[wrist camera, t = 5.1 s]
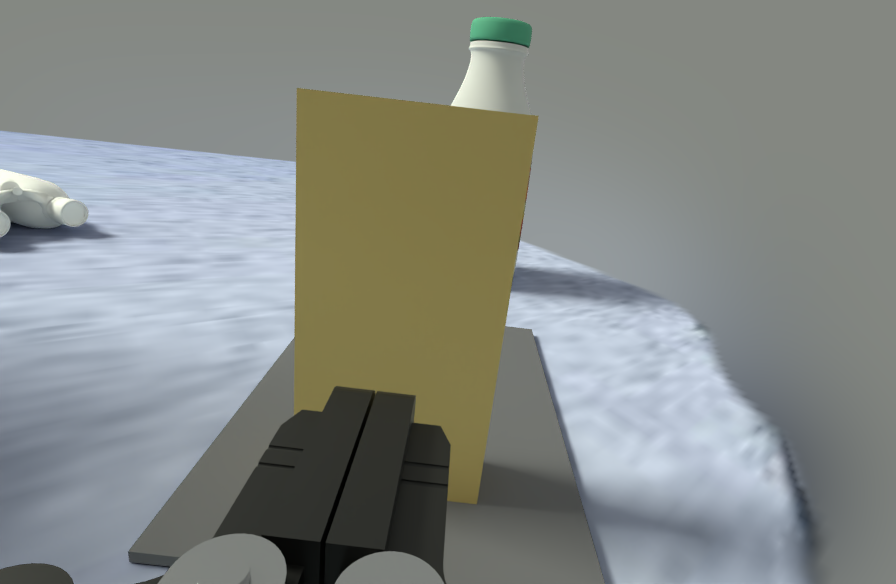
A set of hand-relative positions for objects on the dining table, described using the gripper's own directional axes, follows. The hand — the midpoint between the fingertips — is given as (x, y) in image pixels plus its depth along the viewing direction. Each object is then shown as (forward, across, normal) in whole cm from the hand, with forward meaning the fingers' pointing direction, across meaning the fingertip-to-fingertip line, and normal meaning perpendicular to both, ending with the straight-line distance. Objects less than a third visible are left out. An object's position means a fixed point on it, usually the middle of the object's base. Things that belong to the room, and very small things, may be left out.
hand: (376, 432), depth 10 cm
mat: (+13, 0, -8) cm, 15 cm away
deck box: (+8, 0, -7) cm, 10 cm away
